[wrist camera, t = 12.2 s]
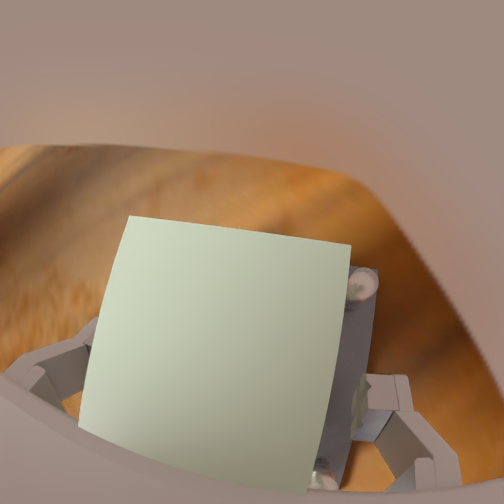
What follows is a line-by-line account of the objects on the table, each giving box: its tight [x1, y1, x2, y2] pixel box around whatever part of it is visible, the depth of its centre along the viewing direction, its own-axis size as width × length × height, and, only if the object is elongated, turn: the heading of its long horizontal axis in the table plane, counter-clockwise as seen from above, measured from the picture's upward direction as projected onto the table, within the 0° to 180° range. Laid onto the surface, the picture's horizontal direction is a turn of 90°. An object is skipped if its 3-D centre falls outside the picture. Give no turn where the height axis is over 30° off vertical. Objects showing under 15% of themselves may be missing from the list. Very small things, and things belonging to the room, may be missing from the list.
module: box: [78, 216, 351, 496], centre depth 12 cm, size 5×7×14 cm
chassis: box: [308, 265, 379, 491], centre depth 17 cm, size 13×16×5 cm
